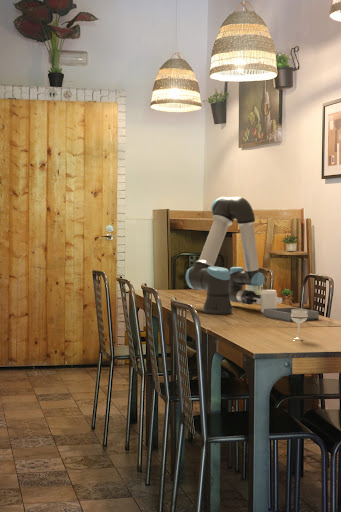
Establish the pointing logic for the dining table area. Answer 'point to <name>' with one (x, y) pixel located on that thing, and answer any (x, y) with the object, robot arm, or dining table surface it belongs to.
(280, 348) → the dining table surface
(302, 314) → the wineglass
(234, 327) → the dining table surface
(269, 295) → the beverage can
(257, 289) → the coffee can
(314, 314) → the bin
